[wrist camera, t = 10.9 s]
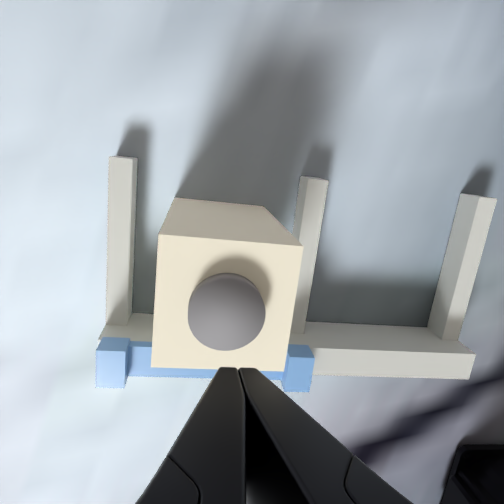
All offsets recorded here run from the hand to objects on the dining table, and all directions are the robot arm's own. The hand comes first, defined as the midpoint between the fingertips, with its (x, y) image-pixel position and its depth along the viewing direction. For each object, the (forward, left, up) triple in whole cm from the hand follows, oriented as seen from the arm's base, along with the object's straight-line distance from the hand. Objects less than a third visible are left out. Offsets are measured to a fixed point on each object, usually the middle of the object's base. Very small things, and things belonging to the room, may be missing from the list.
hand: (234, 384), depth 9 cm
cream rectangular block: (0, 0, -12) cm, 12 cm away
